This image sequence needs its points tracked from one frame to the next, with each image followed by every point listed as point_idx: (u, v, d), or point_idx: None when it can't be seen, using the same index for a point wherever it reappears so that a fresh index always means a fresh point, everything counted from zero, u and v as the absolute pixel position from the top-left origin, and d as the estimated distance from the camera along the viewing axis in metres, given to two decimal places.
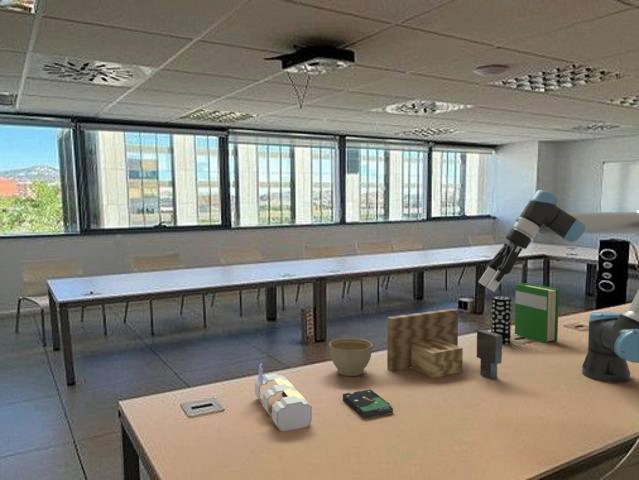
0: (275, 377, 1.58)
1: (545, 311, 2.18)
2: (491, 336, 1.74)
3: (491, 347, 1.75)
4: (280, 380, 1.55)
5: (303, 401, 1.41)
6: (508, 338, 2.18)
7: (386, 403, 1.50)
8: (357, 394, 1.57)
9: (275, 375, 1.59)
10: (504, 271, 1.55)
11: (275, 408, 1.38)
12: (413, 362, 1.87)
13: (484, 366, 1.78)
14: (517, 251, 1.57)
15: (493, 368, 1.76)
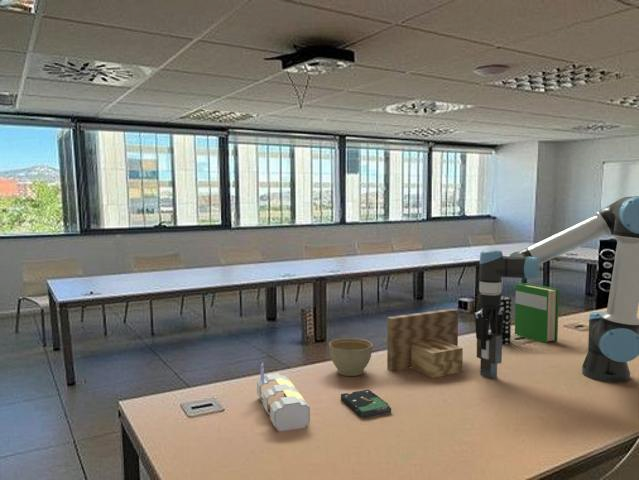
0: (277, 377, 1.58)
1: (545, 311, 2.18)
2: (491, 336, 1.74)
3: (491, 347, 1.75)
4: (281, 380, 1.55)
5: (301, 402, 1.40)
6: (508, 338, 2.18)
7: (384, 403, 1.50)
8: (355, 394, 1.57)
9: (277, 375, 1.59)
10: None
11: (273, 408, 1.38)
12: (413, 362, 1.87)
13: (484, 366, 1.78)
14: (477, 318, 1.74)
15: (494, 368, 1.76)
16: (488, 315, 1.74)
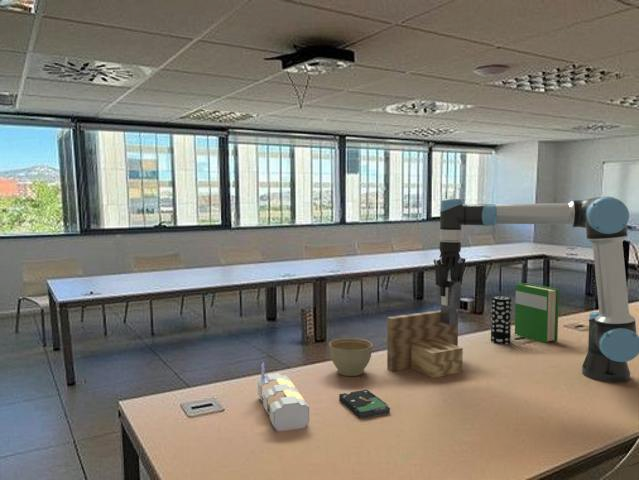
0: (277, 377, 1.58)
1: (545, 311, 2.18)
2: (450, 282, 1.78)
3: (450, 294, 1.78)
4: (282, 380, 1.55)
5: (301, 402, 1.40)
6: (508, 338, 2.18)
7: (383, 403, 1.50)
8: (354, 394, 1.57)
9: (278, 375, 1.60)
10: (439, 286, 1.79)
11: (272, 408, 1.38)
12: (413, 362, 1.87)
13: (443, 313, 1.82)
14: (437, 264, 1.77)
15: (452, 314, 1.79)
16: (447, 262, 1.78)
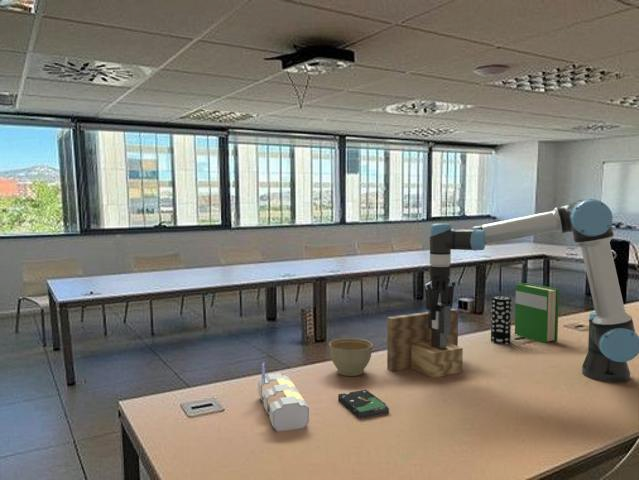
0: (278, 377, 1.58)
1: (545, 311, 2.18)
2: (440, 306, 1.80)
3: (440, 317, 1.80)
4: (282, 380, 1.55)
5: (301, 402, 1.40)
6: (508, 338, 2.18)
7: (382, 403, 1.50)
8: (353, 394, 1.57)
9: (278, 375, 1.60)
10: None
11: (272, 408, 1.38)
12: (413, 362, 1.87)
13: (434, 336, 1.83)
14: (427, 289, 1.79)
15: (443, 338, 1.81)
16: (437, 286, 1.80)
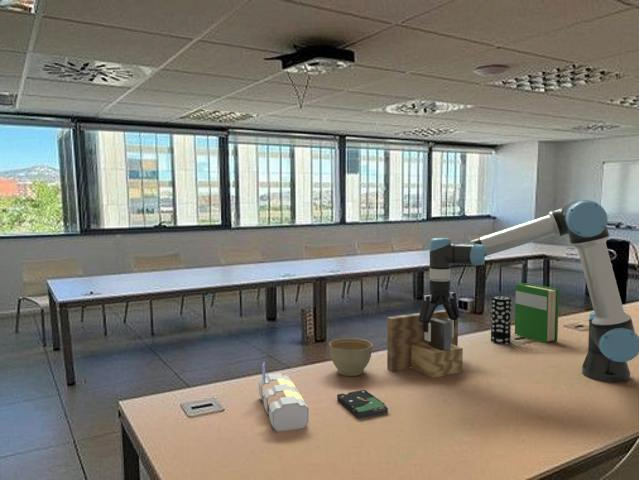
0: (278, 377, 1.58)
1: (545, 311, 2.18)
2: (440, 324, 1.80)
3: (440, 335, 1.81)
4: (282, 380, 1.55)
5: (300, 402, 1.40)
6: (508, 338, 2.18)
7: (381, 403, 1.50)
8: (351, 394, 1.57)
9: (279, 375, 1.60)
10: None
11: (271, 408, 1.38)
12: (413, 362, 1.87)
13: None
14: (425, 300, 1.79)
15: None
16: (436, 300, 1.80)
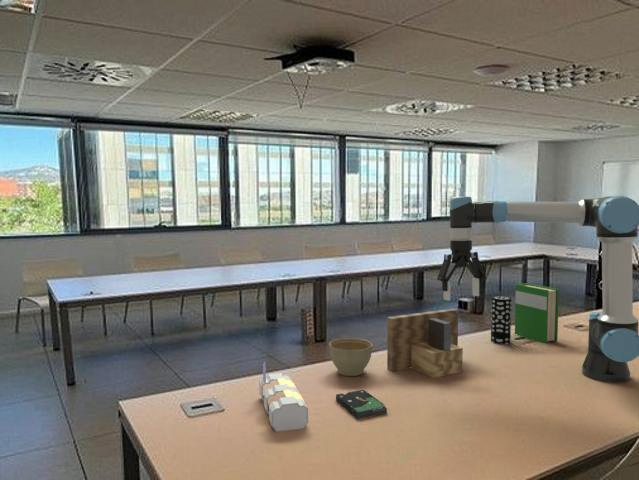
0: (279, 377, 1.58)
1: (545, 311, 2.18)
2: (440, 324, 1.80)
3: (440, 335, 1.81)
4: (283, 380, 1.55)
5: (300, 402, 1.40)
6: (508, 338, 2.18)
7: (380, 403, 1.50)
8: (350, 394, 1.57)
9: (279, 375, 1.60)
10: (440, 280, 1.74)
11: (271, 408, 1.38)
12: (413, 362, 1.87)
13: None
14: (446, 258, 1.74)
15: None
16: (458, 259, 1.75)
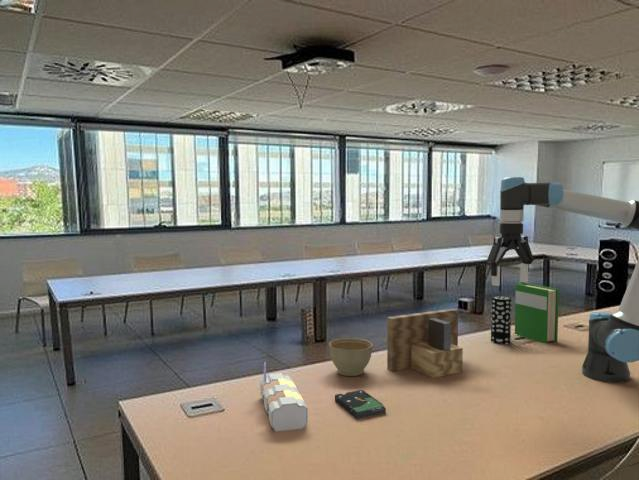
0: (279, 377, 1.58)
1: (545, 311, 2.18)
2: (440, 324, 1.80)
3: (440, 335, 1.81)
4: (283, 380, 1.55)
5: (299, 402, 1.40)
6: (508, 338, 2.18)
7: (379, 403, 1.50)
8: (349, 395, 1.57)
9: (280, 375, 1.60)
10: (490, 264, 1.66)
11: (270, 408, 1.38)
12: (413, 362, 1.87)
13: None
14: (497, 242, 1.66)
15: None
16: (508, 243, 1.67)
